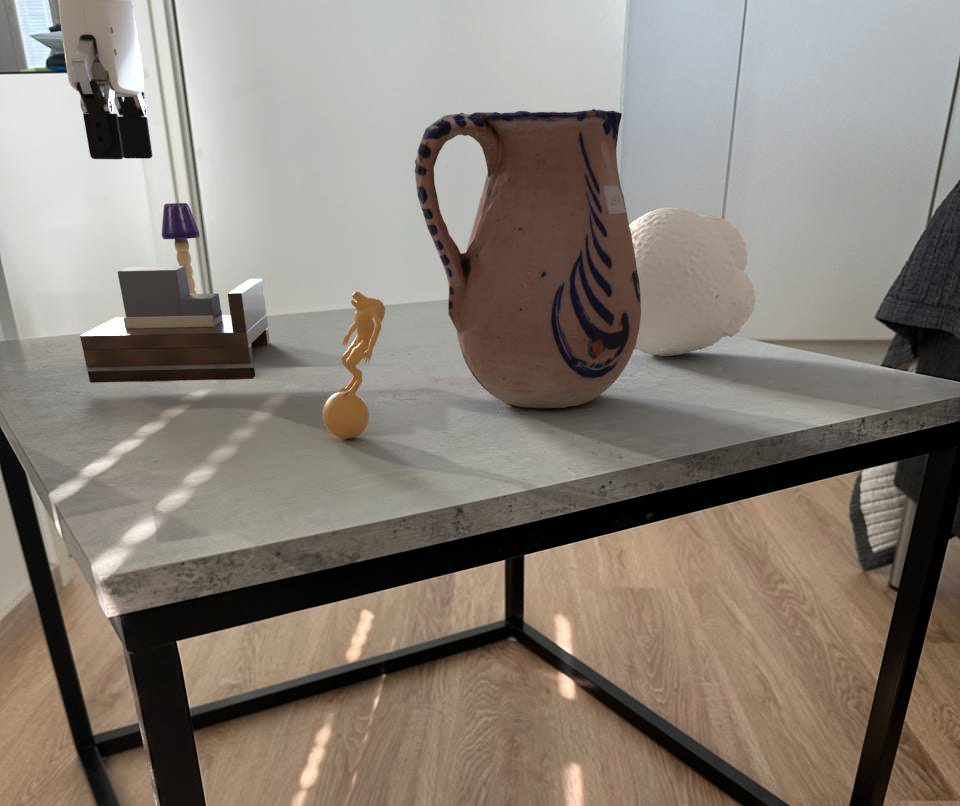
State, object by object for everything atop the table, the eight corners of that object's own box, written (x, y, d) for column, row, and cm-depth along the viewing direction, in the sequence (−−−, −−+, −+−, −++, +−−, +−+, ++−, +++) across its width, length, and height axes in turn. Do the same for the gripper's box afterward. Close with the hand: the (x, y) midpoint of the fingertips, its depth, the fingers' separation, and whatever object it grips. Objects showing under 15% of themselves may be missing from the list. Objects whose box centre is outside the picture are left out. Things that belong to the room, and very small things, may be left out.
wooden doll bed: (89, 382, 102) (71, 296, 98) (124, 360, 112) (108, 281, 108) (252, 379, 102) (241, 293, 98) (271, 357, 113) (262, 278, 108)
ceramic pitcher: (672, 405, 89) (697, 105, 77) (482, 439, 80) (477, 105, 68) (569, 372, 102) (576, 113, 90) (396, 398, 93) (380, 113, 81)
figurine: (316, 428, 84) (302, 288, 78) (380, 421, 86) (371, 283, 80) (335, 453, 77) (321, 301, 71) (404, 445, 79) (396, 296, 73)
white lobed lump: (556, 352, 112) (559, 208, 105) (649, 333, 122) (658, 200, 115) (690, 378, 99) (704, 215, 91) (782, 353, 109) (802, 205, 102)
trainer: (124, 328, 103) (113, 271, 100) (136, 322, 107) (126, 266, 104) (214, 326, 103) (205, 269, 100) (223, 320, 107) (215, 264, 104)
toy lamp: (173, 340, 123) (150, 203, 116) (205, 336, 126) (185, 201, 118) (188, 345, 120) (166, 204, 112) (221, 340, 123) (201, 202, 115)
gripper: (85, -27, 97) (114, 157, 105) (15, -60, 81) (55, 159, 89) (157, -26, 97) (181, 158, 105) (100, -58, 82) (133, 159, 90)
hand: (123, 158), depth 97 cm, fingers open, 9 cm apart
